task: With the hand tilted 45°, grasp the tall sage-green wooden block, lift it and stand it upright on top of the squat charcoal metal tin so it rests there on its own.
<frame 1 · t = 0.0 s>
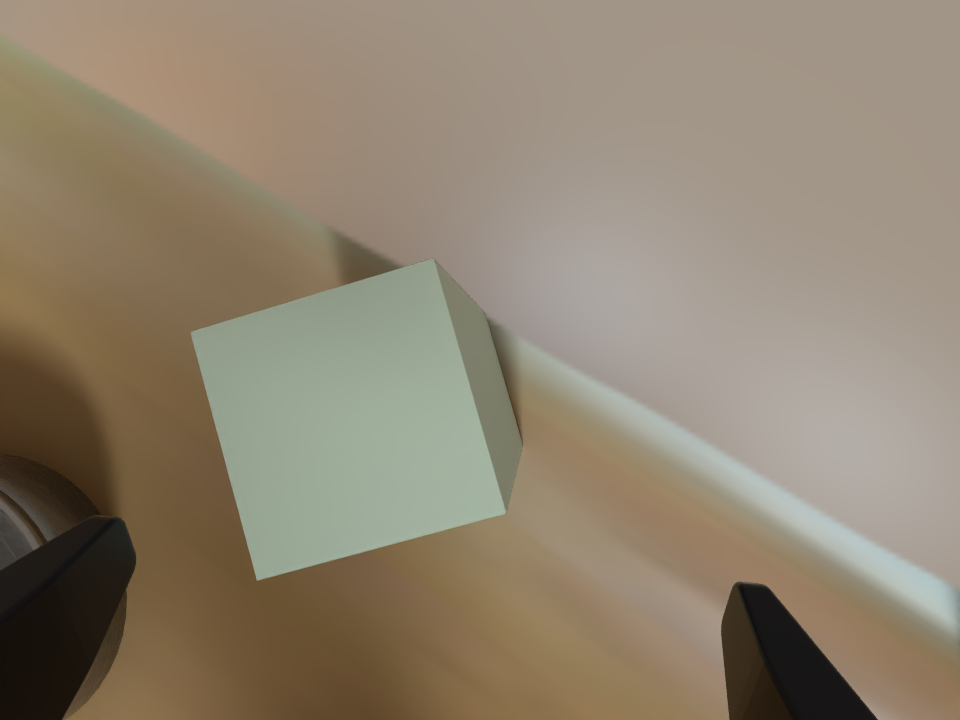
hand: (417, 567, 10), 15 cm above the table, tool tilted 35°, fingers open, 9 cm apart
sage block: (437, 397, 25), on the table
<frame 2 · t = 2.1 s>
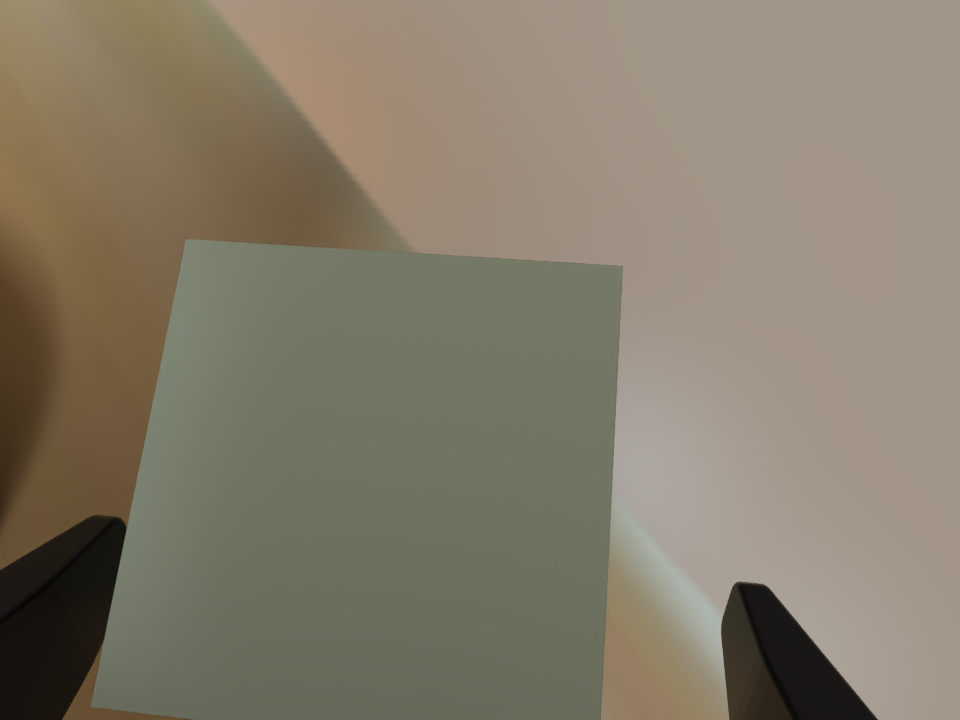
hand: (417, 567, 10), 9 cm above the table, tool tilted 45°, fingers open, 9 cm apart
sage block: (466, 507, 19), on the table
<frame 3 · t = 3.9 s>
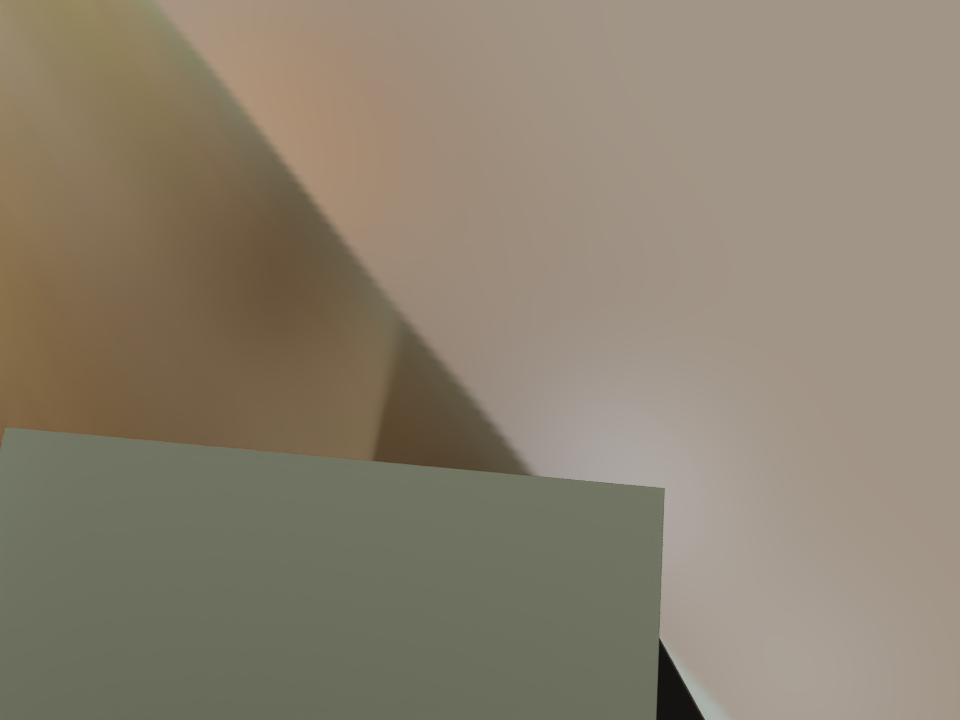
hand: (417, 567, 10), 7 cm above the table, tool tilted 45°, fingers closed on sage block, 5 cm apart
sage block: (454, 611, 16), on the table, touching gripper
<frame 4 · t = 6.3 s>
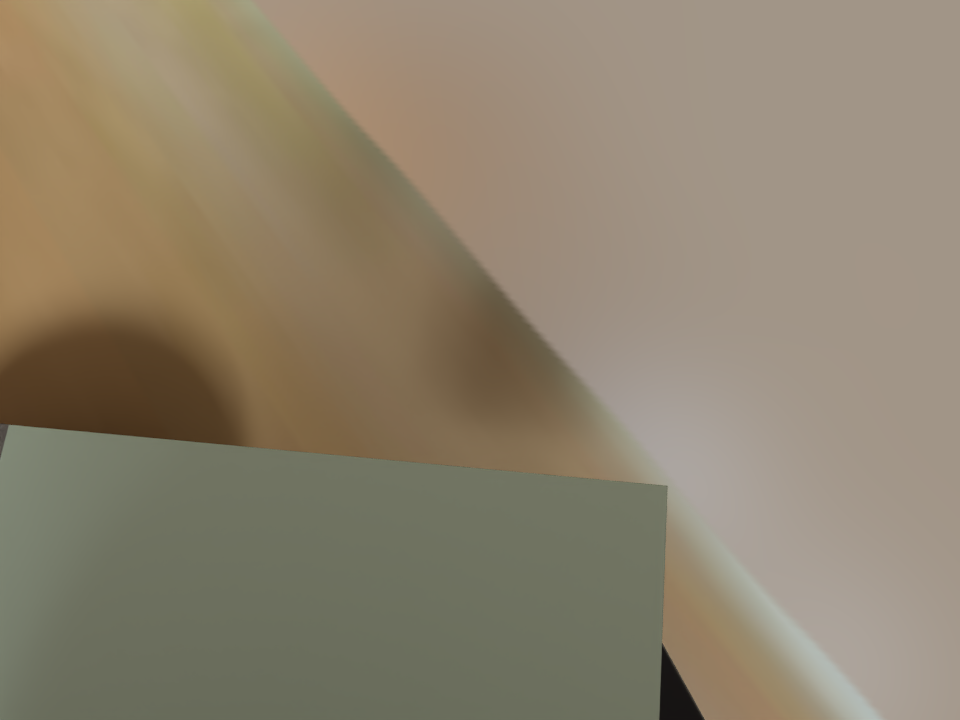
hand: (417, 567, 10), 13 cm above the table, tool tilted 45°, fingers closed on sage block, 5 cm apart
sage block: (455, 611, 16), point 7 cm above the table, touching gripper
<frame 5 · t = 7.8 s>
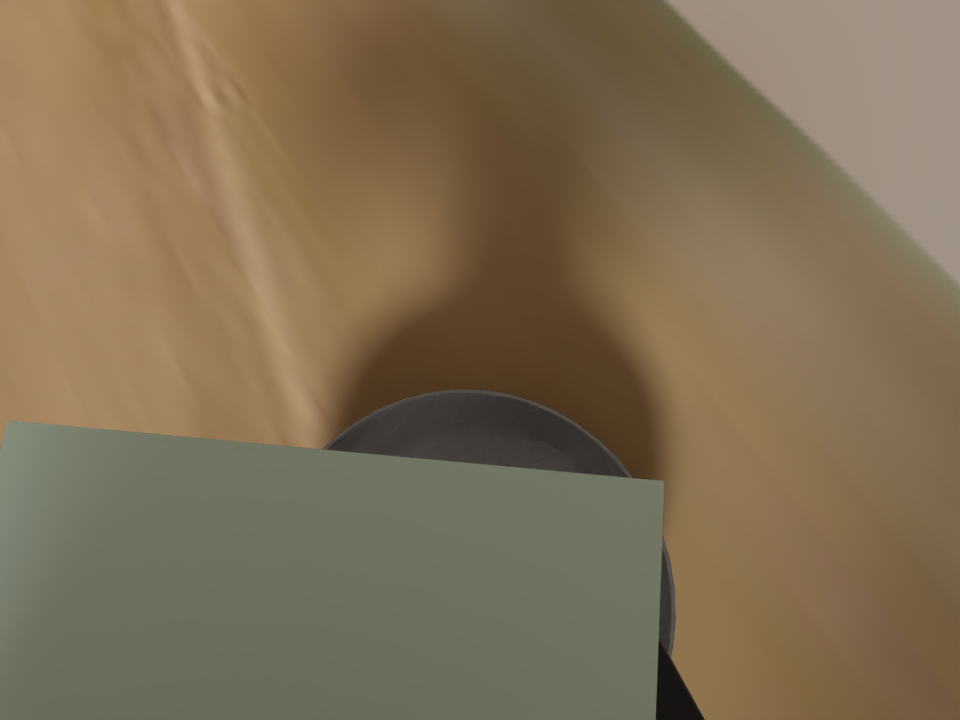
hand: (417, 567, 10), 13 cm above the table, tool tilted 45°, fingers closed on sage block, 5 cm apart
sage block: (454, 610, 16), point 6 cm above the table, touching gripper
charcoal tin: (473, 582, 22), on the table
when the fingers open (11 cm above the table, at t = 8.8 s): sage block drops 1 cm, resting on charcoal tin.
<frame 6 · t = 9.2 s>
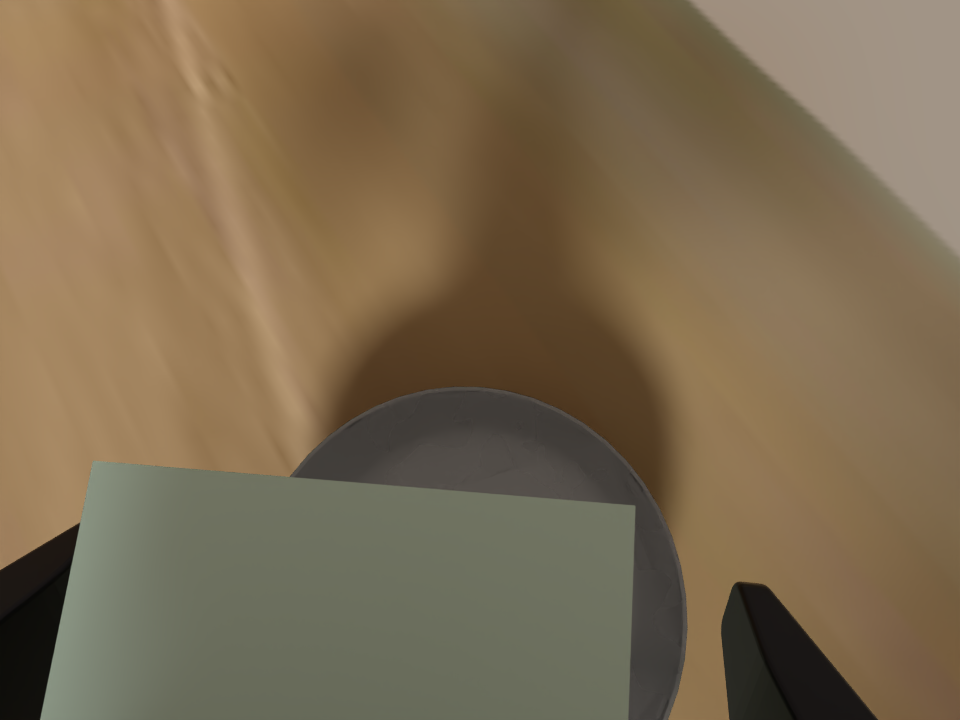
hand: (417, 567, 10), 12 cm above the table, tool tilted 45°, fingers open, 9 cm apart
sage block: (459, 607, 17), point 4 cm above the table, touching charcoal tin
charcoal tin: (472, 589, 21), on the table, touching sage block
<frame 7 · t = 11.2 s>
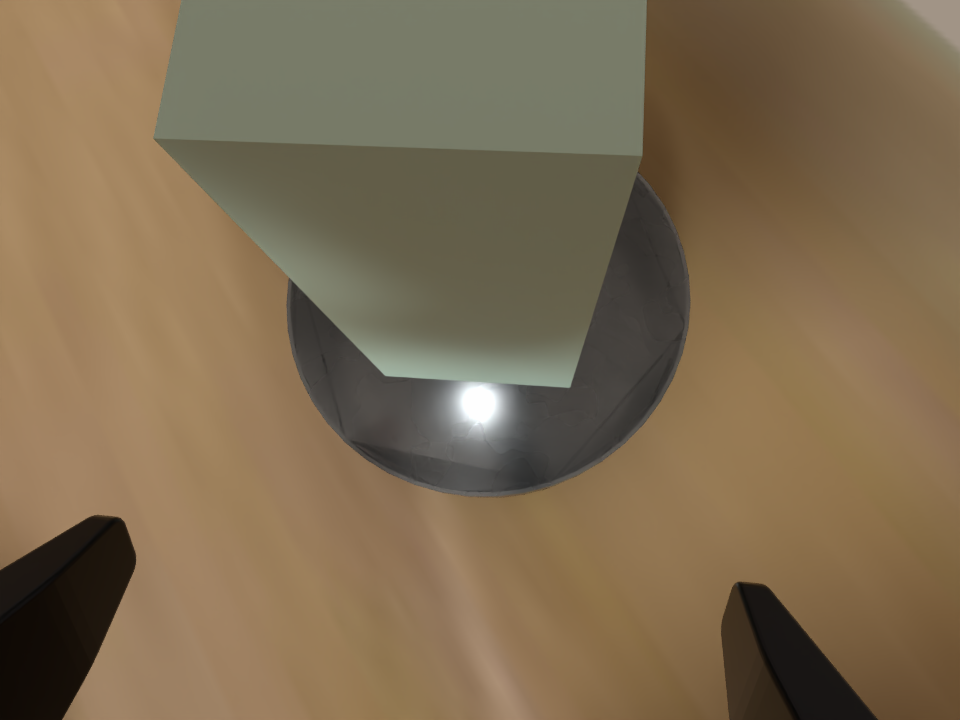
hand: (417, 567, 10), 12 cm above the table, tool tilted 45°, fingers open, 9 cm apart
sage block: (483, 293, 19), point 4 cm above the table, touching charcoal tin
charcoal tin: (491, 329, 23), on the table, touching sage block
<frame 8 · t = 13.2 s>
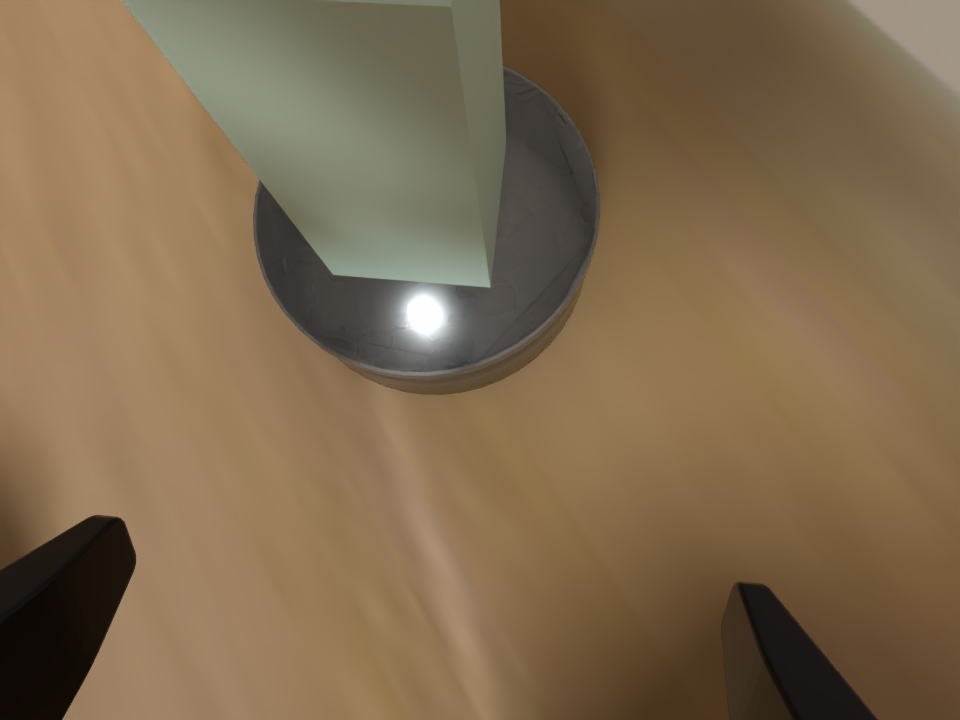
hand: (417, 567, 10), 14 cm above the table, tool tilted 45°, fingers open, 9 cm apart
sage block: (421, 207, 22), point 4 cm above the table, touching charcoal tin
charcoal tin: (439, 252, 26), on the table, touching sage block
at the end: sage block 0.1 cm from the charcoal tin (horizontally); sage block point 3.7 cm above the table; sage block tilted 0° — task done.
